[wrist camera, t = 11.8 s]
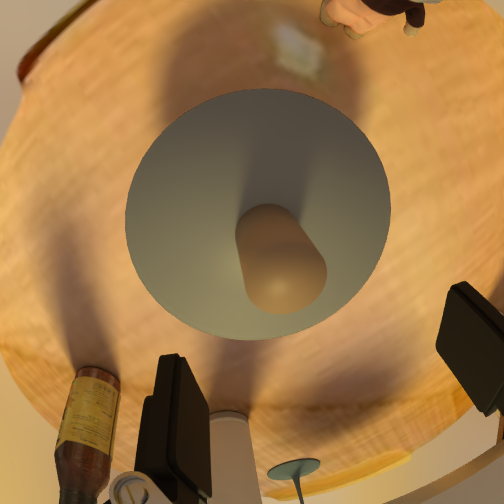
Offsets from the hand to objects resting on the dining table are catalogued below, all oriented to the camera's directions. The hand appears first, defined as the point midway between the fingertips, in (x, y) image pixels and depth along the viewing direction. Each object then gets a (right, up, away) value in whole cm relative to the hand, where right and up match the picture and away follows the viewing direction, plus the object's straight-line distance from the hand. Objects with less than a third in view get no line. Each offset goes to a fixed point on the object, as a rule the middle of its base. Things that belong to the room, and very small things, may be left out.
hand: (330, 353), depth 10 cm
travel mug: (-6, -20, +28) cm, 35 cm away
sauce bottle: (-21, -12, +22) cm, 33 cm away
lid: (-2, +5, +9) cm, 10 cm away
